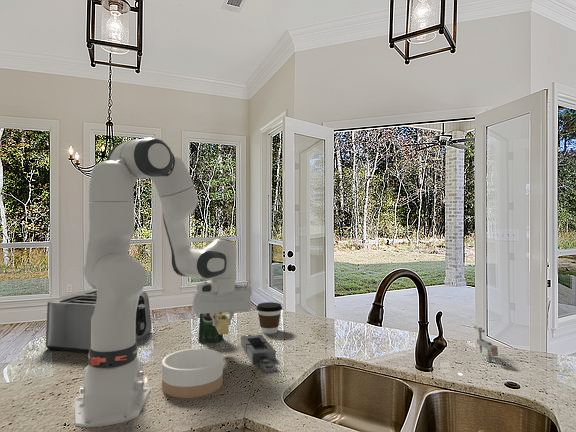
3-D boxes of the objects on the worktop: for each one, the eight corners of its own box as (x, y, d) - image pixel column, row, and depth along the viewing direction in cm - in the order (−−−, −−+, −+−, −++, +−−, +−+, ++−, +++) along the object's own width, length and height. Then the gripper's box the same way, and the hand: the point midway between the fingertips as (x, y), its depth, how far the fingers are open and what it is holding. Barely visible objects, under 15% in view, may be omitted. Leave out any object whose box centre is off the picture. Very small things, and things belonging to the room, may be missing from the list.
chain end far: (236, 340, 153) (236, 330, 153) (256, 338, 156) (256, 328, 156) (245, 355, 137) (245, 344, 137) (267, 353, 140) (267, 342, 140)
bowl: (198, 370, 124) (198, 344, 124) (235, 385, 114) (235, 356, 114) (149, 388, 111) (149, 359, 111) (185, 407, 100) (185, 375, 100)
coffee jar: (224, 338, 156) (224, 292, 156) (221, 345, 148) (221, 296, 148) (200, 339, 155) (200, 292, 155) (196, 345, 147) (196, 297, 147)
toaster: (109, 360, 133) (109, 305, 133) (32, 353, 140) (32, 300, 140) (156, 335, 161) (156, 289, 161) (89, 330, 168) (89, 286, 168)
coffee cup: (253, 330, 167) (253, 302, 167) (278, 328, 170) (278, 301, 170) (259, 338, 156) (259, 308, 156) (285, 335, 160) (285, 306, 160)
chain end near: (282, 372, 123) (282, 359, 123) (258, 375, 120) (258, 362, 120) (268, 354, 139) (268, 342, 139) (246, 356, 136) (246, 345, 136)
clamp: (498, 365, 128) (497, 334, 129) (492, 365, 128) (490, 334, 129) (478, 352, 143) (477, 325, 144) (472, 352, 143) (471, 325, 144)
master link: (228, 334, 130) (228, 316, 130) (219, 334, 129) (219, 317, 129) (223, 325, 140) (223, 309, 140) (214, 326, 139) (215, 309, 139)
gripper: (249, 283, 141) (248, 321, 141) (192, 284, 135) (191, 324, 134) (253, 285, 135) (252, 325, 135) (193, 287, 129) (192, 329, 128)
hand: (221, 325), depth 135 cm, fingers closed on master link, 3 cm apart
